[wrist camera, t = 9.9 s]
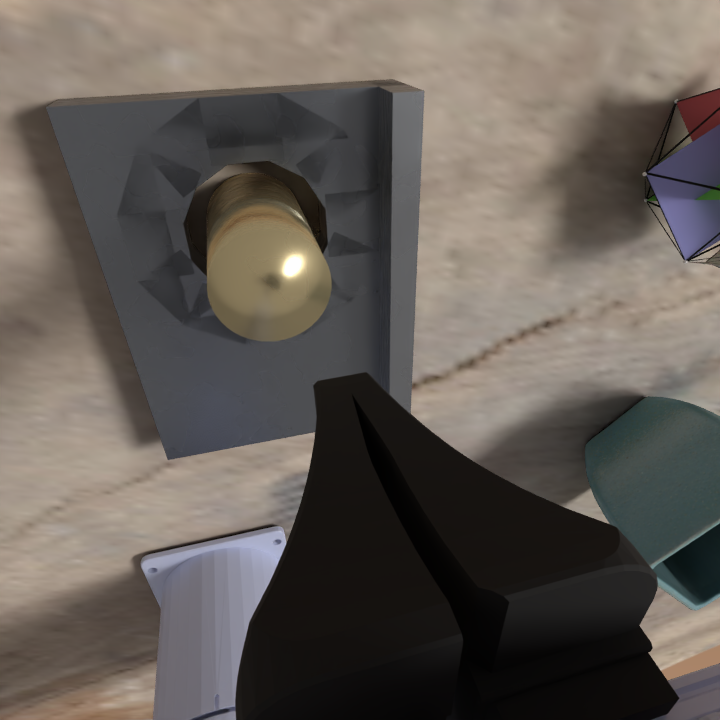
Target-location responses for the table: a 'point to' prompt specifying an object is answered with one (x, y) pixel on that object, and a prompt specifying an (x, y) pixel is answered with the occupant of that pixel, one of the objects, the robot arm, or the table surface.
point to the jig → (189, 267)
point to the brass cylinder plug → (263, 260)
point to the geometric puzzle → (691, 179)
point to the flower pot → (664, 492)
